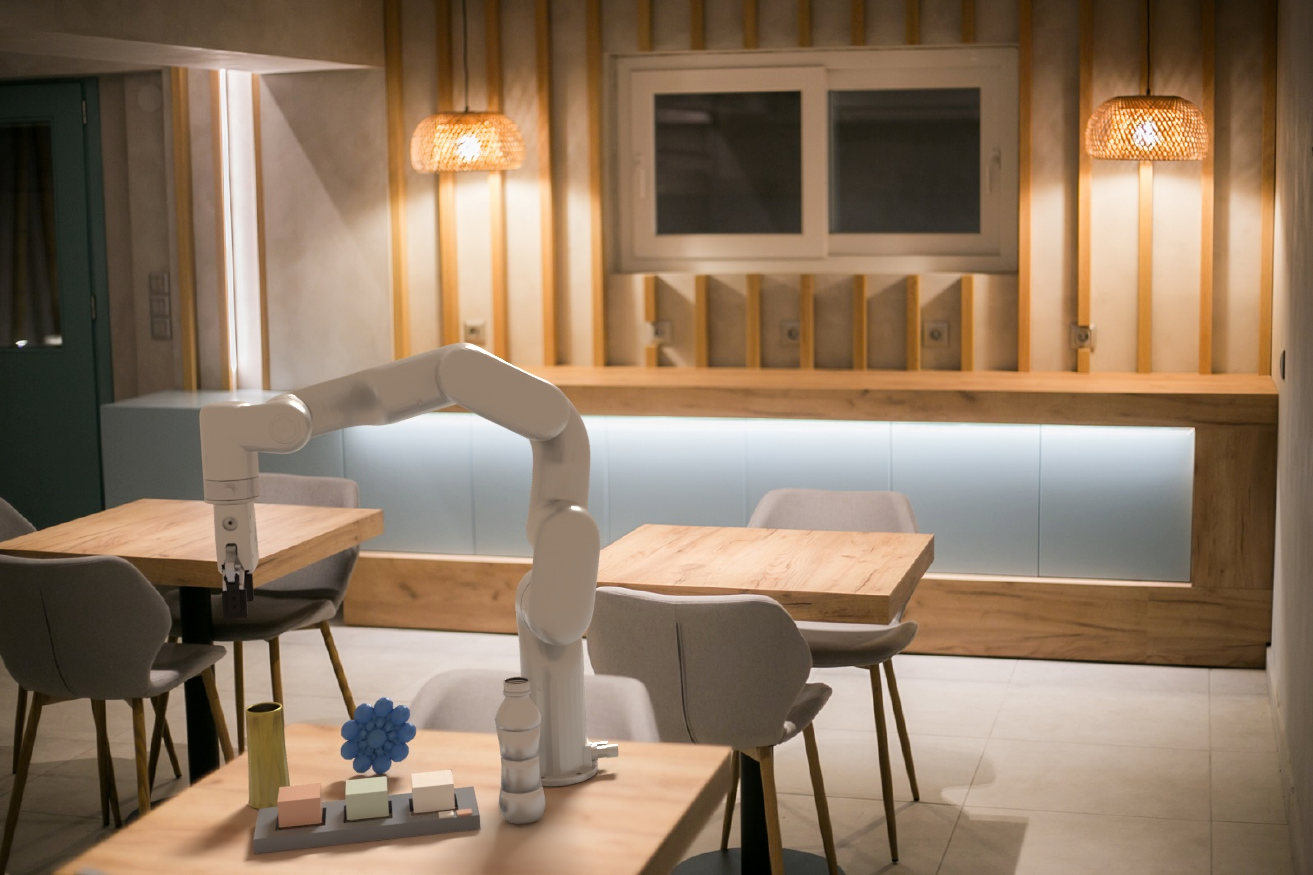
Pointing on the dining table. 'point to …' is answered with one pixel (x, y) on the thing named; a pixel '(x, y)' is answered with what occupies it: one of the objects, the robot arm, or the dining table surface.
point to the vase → (266, 754)
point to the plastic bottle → (519, 754)
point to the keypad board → (366, 824)
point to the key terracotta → (300, 805)
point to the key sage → (366, 798)
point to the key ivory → (432, 791)
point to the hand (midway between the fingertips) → (239, 609)
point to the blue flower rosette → (377, 736)
